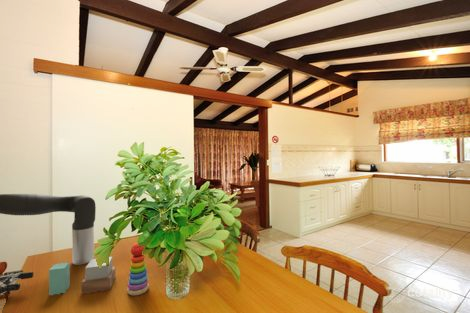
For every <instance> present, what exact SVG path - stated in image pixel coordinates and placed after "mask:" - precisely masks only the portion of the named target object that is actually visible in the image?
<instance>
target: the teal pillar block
mask: <svg viewBox="0 0 470 313" xmlns="http://www.w3.org/2000/svg"><path fill="white" fill-rule="evenodd" d="M70 276H71V273H70V262H69V261H68V262H59V263H54V264H53V266H51V267H50V268H49V269H48V289H49V290H48V295H51V296H55V295H54V294H58V295H61V294H60V293H64V294H65V293H66V292H67V291H68V289H69V288H70V287H69V286H71V282H70V280H71V278H70ZM66 290H67V291H66Z"/></svg>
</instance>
